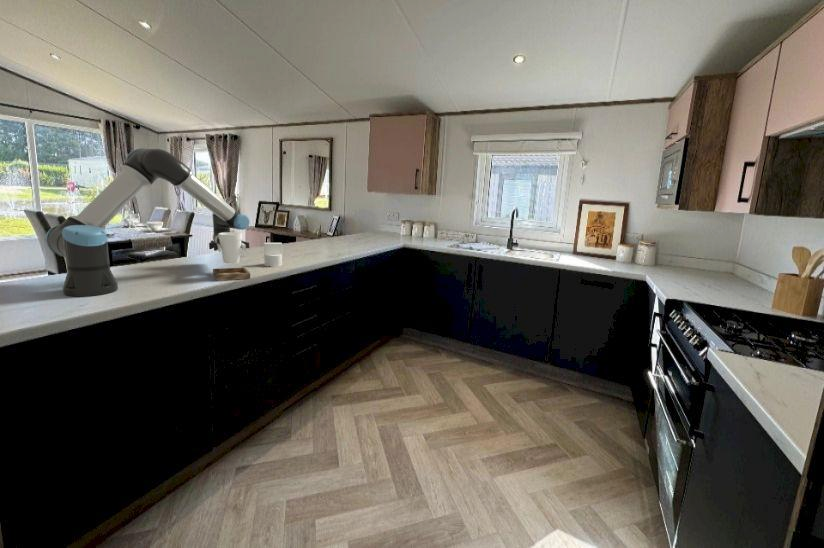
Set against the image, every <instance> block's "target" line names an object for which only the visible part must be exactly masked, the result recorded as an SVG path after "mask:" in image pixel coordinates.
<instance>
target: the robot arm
mask: <svg viewBox="0 0 824 548" xmlns="http://www.w3.org/2000/svg"><path fill="white" fill-rule="evenodd" d="M121 170H122V171H121V172H120V173H119V174H118V175H117V176H116V177H115V178H114V179H113V180H112V181H111V182H110V183H109V184H108V185H107V186H106V187H105V188H104V189H103V190H102V191H101V192H100V193H99V194H98V195H96V197H95V198H94V199H93V200H92V201H90V203H89V204H88V205H86V206H85V207H84V208H83V210H82V211H80V212H79V213H78V214H77V215H70V216H68V217H67V218H66V219H65V220H64V221H63V222H62V223H61V224H58V225H56V226H52V227H50V229H48V231H47V232H46V234H45V238H44V240H45V245H46V247H47V248H48V249H49V250H50V251H51V252H53V254H56V255H57V256H60V257H63V258H65V262H66V269H67V271H66V272H67V273H66V275H65V276H66V277H65V279H64V283H63V285H62V292H63V295H65V296H69V297H90V296H91V297H92V296H99V295H106V294H110V293H114V292H116V291H118V289H119V285H118V284H119V283H118V281H117V280H116V278H115V275H114V274H113V272H112V270H111V265H110V255H109V246H108V245H109V244H108V235H107V232H106V230H105V229H104V228H105V227H106V226H107V225H108V224H109V223H110V222H111V221H112V220H113V219H114V218H115V216H117V215H118V214H119V213H120V211H122V209H123V208H124V207H125V206H126V205H127V204H128V203H129V202H130V201H131V200H132V199H134V197H135V196H136V195H137V194H138V193H139V192H140V191H141V190H142V189H143V188H145V187H151V185H153V184H154V182H156V180H157V179H162V180H164V181H167V182H169V184H171V185H173V186H174V187H179V188H180V189H182V190H183V191H185V192H186V193H187V194H188V195H190V196H191V198H193V199H195V200H196V201H197V202H199V203H200V204H201V205H202V206H204V207H205V208H207V209H208V210H209V211H210V212H212V225H213V226H212V227H213V235H212V240H210V242H209V243H208V249H209V250H213V251H214V252H219V253H220V252H221V253H222V251H221V246H220V241H219V235H218V234H219V233H226V232H231V229H234V230H239V231H240V230H242V231H244V230H246V229H247V228H248V227H249V225H250V218H249V216H247V215H246V214H243V213H239V211H237V210H236V209H235V208H233V207H232V206H231V205H230V204H229V203H228V202H227V201H225V200H224V199H223V198H222V197H220V196H219V195H218V194H217V193H216V192H214V191H213V190H212V189H211V188H210V187H208V186H207V184H205V183H204V182H203V181H202V180H200V179H199V178H197V177H196V176H195V175H194V174H193V173H192V170H191V168H190V167H188V166H187V165H186V164H185V163H184V162H183V161H181V160H180V159H179V158H177V157H176V156H175V155H173V154H172V153H170V152H169V151H167V150H164V149H161V148H143V147H142V148H137V149H133V150H132V151H130V152H129V153H128V154H127V156H126V159H125V162H124V163H123V164H122V165H121ZM247 249H250V242H247V241H244V240H243V239H242V240H241V250H242V251H243V252H246V251H247Z"/></svg>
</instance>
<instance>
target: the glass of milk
mask: <svg viewBox="0 0 824 548" xmlns="http://www.w3.org/2000/svg"><path fill="white" fill-rule="evenodd" d="M263 246H264V247H263V248H264V251H263V252H264V253H263V254H264V259H263V261H264V267H269V266H270V267H274V266H277V267H281V265H282V266H283V243H282V242H263ZM274 268H275V267H274Z"/></svg>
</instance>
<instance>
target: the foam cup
mask: <svg viewBox="0 0 824 548" xmlns="http://www.w3.org/2000/svg"><path fill="white" fill-rule="evenodd" d="M218 235H219V241H220V246H221V255H222V260H223V263H224V264H238V263H240V259H241V258H240V257H241V250H242V249H241V240H242V241H243V234H242V232H233V231H230V232H226V233H219V234H218Z"/></svg>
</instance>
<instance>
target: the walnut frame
mask: <svg viewBox="0 0 824 548" xmlns="http://www.w3.org/2000/svg"><path fill="white" fill-rule="evenodd" d="M212 275H213V277H214V278H216V279H215V280H216V282H219V280H224V281H236V280H235V279H240V280H250V279H251V273H250V271H248V269H247V268H246V267H243V266H242V267H225V268H212Z"/></svg>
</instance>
